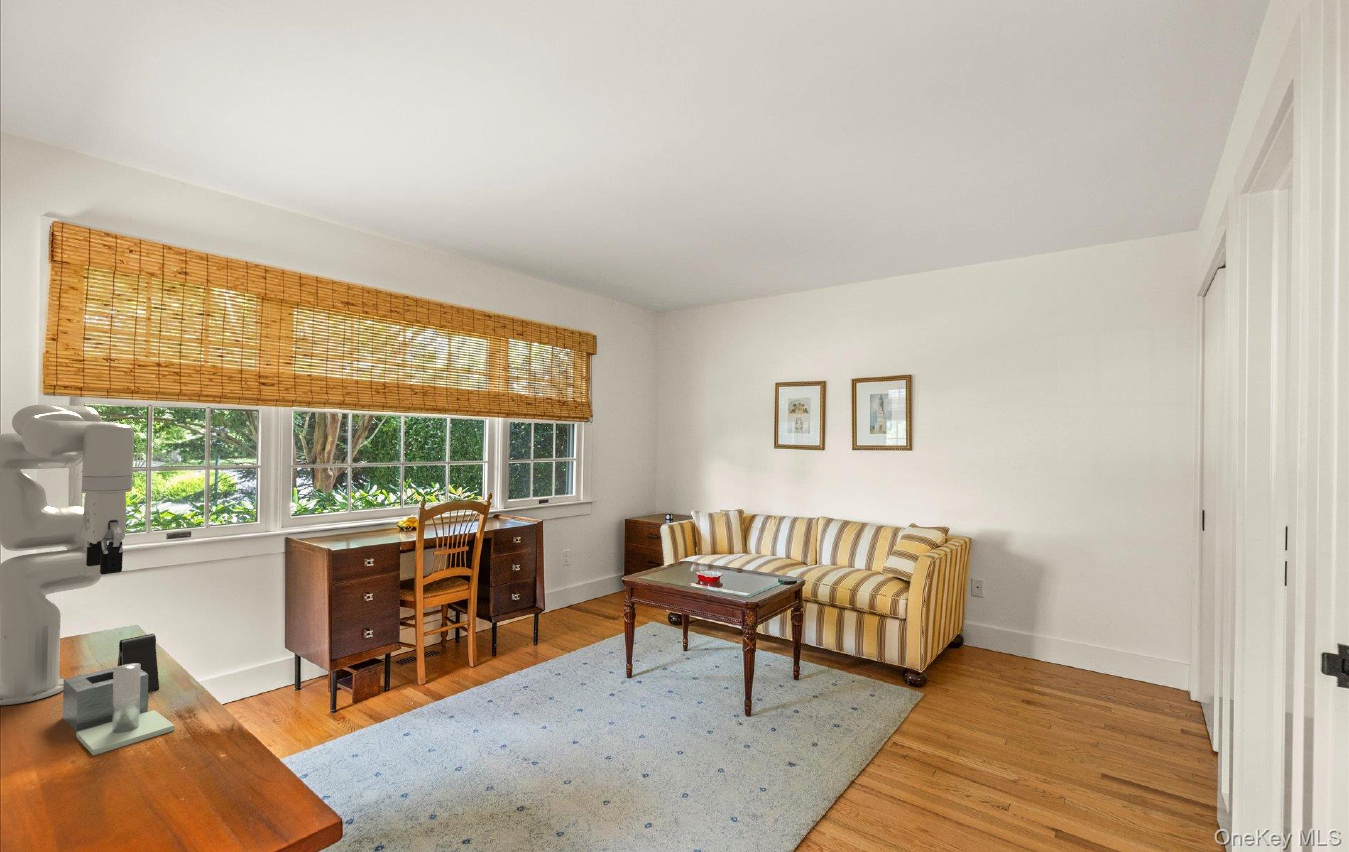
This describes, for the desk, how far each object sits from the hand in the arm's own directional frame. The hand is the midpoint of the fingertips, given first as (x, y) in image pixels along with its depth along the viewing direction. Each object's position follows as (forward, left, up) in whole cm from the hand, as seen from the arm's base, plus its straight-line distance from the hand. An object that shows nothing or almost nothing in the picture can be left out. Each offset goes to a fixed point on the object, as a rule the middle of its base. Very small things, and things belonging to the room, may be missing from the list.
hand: (103, 569), depth 124 cm
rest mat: (+8, +2, -32) cm, 33 cm away
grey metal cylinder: (+8, +2, -31) cm, 32 cm away
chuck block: (-6, +2, -32) cm, 32 cm away
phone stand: (-18, +10, -32) cm, 38 cm away
